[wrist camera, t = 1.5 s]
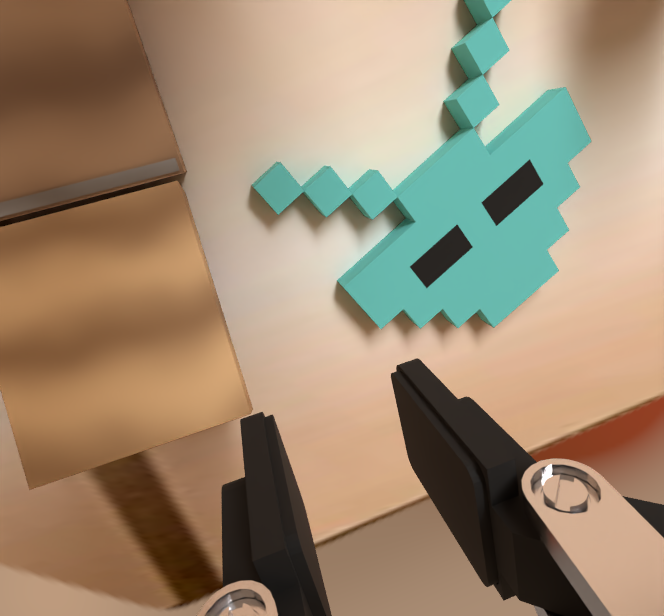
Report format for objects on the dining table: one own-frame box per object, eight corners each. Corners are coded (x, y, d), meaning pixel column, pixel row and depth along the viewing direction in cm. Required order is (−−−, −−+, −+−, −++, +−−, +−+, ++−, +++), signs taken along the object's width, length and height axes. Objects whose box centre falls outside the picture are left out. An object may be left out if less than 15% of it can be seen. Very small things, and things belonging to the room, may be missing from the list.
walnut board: (-184, -32, 21) (-228, -52, 19) (98, -82, 23) (86, -105, 21) (-36, 229, 26) (-59, 236, 24) (186, 171, 27) (184, 173, 25)
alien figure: (250, 184, 29) (418, 370, 37) (253, 187, 27) (429, 383, 35) (482, -31, 28) (602, 208, 36) (503, -45, 26) (625, 212, 34)
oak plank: (-19, 246, 26) (-44, 238, 24) (184, 192, 28) (177, 180, 26) (49, 478, 25) (29, 490, 23) (252, 408, 27) (250, 413, 25)
